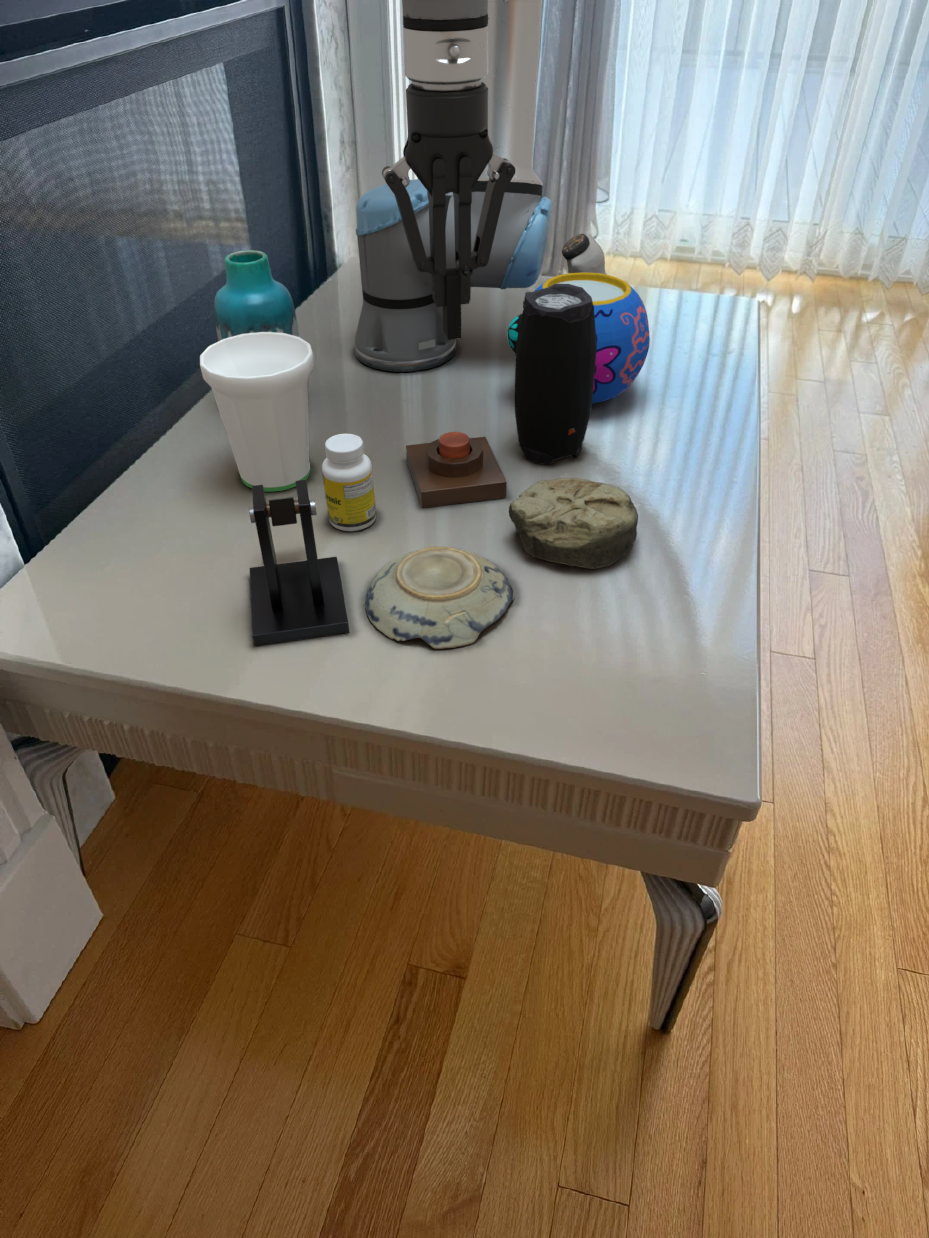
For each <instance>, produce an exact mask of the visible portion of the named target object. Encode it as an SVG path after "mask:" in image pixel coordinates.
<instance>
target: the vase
mask: <svg viewBox="0 0 929 1238" xmlns="http://www.w3.org/2000/svg"><path fill="white" fill-rule="evenodd" d="M269 261H270V260H269V257H268V255H267V254H266V253H265V252H264V251H261V250H255V249H251V250H250V249H246V250H245V249H244V250H238V251H234V252H231V253H228V254H227V255H226V256H225V257H224V268H225V279H226V281H225V284H224V285H223V286H222V287H220V288H219V289H218V290H217V292H216V294H215V296H214V301H213V303H214V304H213V313H214V315H213V316H214V324H215V330H216V336H217V342H219V341H221V340H223V339H226V338H229V337H233V336H237V335H240V334H247V333H257V332H275V333H285V334H289V335H293V336H297V337H300V330H299V324H298V319H297V313H296V307H295V305H294V301H293V298H292V295H291V293H290V291H289V289H288V288H287V287H286V286H285V285H284V284H283V283H282V282H279V281H277V280H275V279H274V277H273V275H272V271H271V265H270V262H269Z"/></svg>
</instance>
